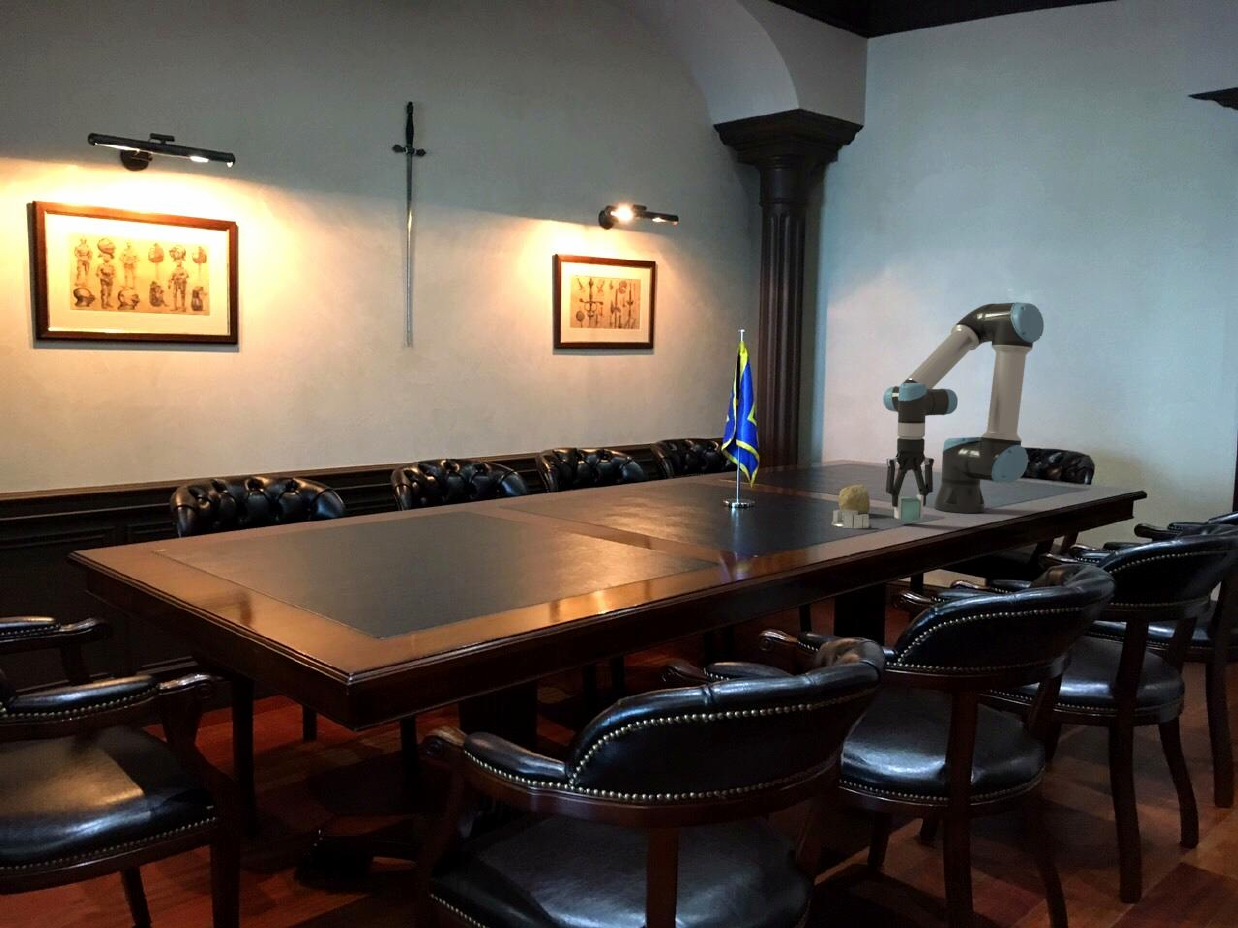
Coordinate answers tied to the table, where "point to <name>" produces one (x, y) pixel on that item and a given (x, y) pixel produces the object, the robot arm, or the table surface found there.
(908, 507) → the teal rounded cylinder
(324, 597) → the table surface
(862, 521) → the grey ring-shaped piece
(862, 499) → the coral
